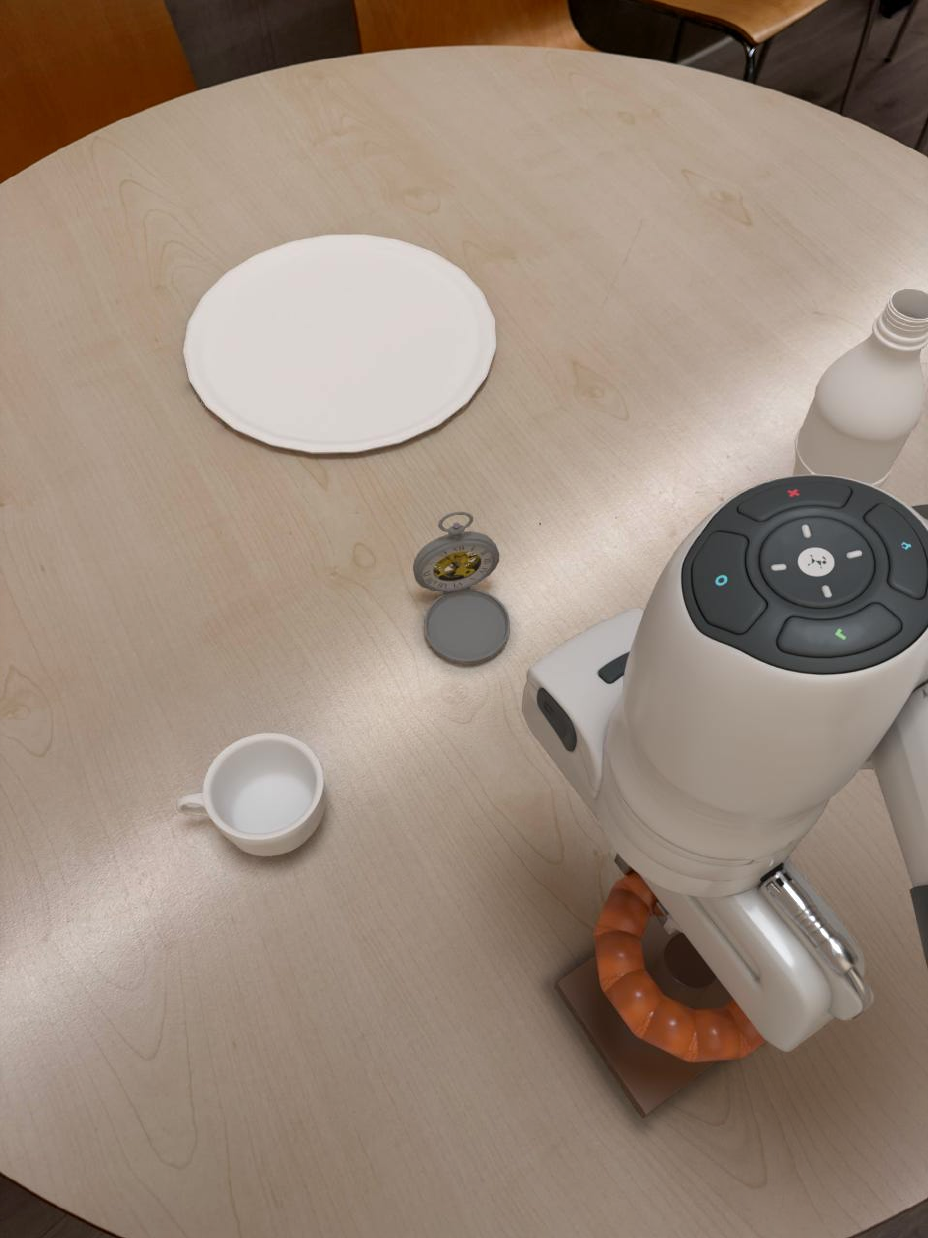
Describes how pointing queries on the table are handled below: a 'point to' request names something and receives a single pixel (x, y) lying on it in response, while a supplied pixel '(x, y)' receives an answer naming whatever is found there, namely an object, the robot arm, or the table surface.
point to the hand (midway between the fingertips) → (649, 886)
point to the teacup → (262, 794)
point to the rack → (627, 1056)
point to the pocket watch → (461, 595)
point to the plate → (339, 343)
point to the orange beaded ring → (644, 1001)
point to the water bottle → (869, 398)
